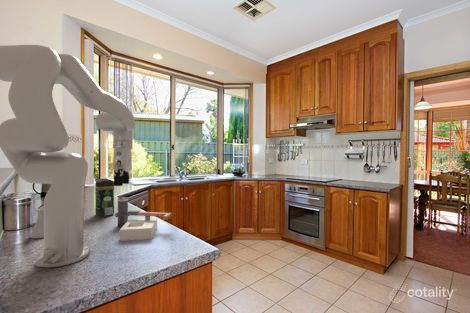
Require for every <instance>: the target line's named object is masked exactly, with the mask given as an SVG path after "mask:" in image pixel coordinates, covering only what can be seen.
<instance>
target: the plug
mask: <svg viewBox="0 0 470 313" xmlns="http://www.w3.org/2000/svg"><path fill="white" fill-rule="evenodd" d="M128 211H129V197H126V196H124V197H123V196H122V197H118V198H117V212H116V213H115V212H114V217H115V218H117V227H119V228H122V227H123V226H124V224H125V223H126V222H127V221H128V220H129V217H130V216H131V215H128Z"/></svg>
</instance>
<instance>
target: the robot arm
mask: <svg viewBox="0 0 470 313" xmlns="http://www.w3.org/2000/svg"><path fill="white" fill-rule="evenodd" d="M0 81H3V82H9V83H10V85H9V86H10V87H9V90H8V94H7V96H8V103H9V106H10V109H11V110H12V113H13V114H14V117H13V118H9V119H6V120H4V121H3V122H1V123H0V149H1V151H2V153H3V154H4V156H5V157H6V159H7V161H8V162H9V163H10V165H11V166H12V168H13V169H14V171H15V172H16V174H17V175H18V176H19V178H21V180H23V181H25V182H27V183H30V184H39V185H41V184H42V185H51V186H50V187H49V189H48V190H47V192H46V194H45V196H44V199H43V205H44V237H43V253H42V254H41V255H39V256H38V257H37V259H36V261H35V263H34V264H35V266H36V267H38V268H39V267H41V268H58V267H62V266H67V265H71V264H74V263H76V262H79V261H82V260H84V259H85V258H86V257H88V256H89V254H90V248H89V247H88V246H86V245H85V244H84V243H85V242H84V241H85V238H84V237H85V236H84V234H85V233H84V230H85V228H84V227H85V224H84V222H85V221H84V216H85V215H84V214H85V212H84V210H85V209H84V208H85V203H84V202H85V200H84V199H85V197H84V196H85V185H86V180H87V176H88V170H89V164H88V162H87V160H86V158H85V157H84V156H83V155H81V154H78V153H75V152H68V151H66V152H65V151H64V152H63V150H64V149H66V148H67V147H68V146H69V143H70V141H69V136H68V132H67V129H66V127H65V125H64V123H63V120H62V119H61V116H60V114H59V112H58V110H57V108H56V105H55V102H54V99H53V89H54V86H55V85H62V86H63V87H64V88H65V89H66V91H68V92H69V93H70V95H71V96H73V98H74V99H75V100H76V101H77V102H78V103H79V104H80V105H82V106H83V107H85V108H89V109H91V110H95V111H99V112H101V113H98V114H97V115H96V117H95V125H96V127H97V128H98V129H99V130H100V131H101V130H102V131H103V132H113V133H112V134H113V137H112V138H113V139H112V140H113V141H112V142H113V143H112V149H114V155H113V172H114V174H113V181H114V187H115V186H116V187H123V184H125V185H128V184H130V171H132V149H133V131H134V129H135V127H136V119H135V116H134V114H133V112H132V110H130V108H129V106H128V105H127V104H126V103H125V102H124V101H122V99H121V100H120V99H119V98H117V97H116V96H114V95H113V94H111V93H109V92H107V91H104V90H103V89H102V88H101V87H100V85H99V84H98V82H97V81H96V80H95V79H94V78H93V76H92V75H91V73H90V72H89V71H88V70H87V69H86V67H85V66H84V64H83V63H82V62H81V61H80V60H79V59H78V58H77V57H75V56H73V55H71V54H67V53H57V52H56V50H54V49H52V48H50V47H49V46H45V45H40V44H39V45H38V44H16V45H14V44H13V45H11V44H9V45H0Z"/></svg>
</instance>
